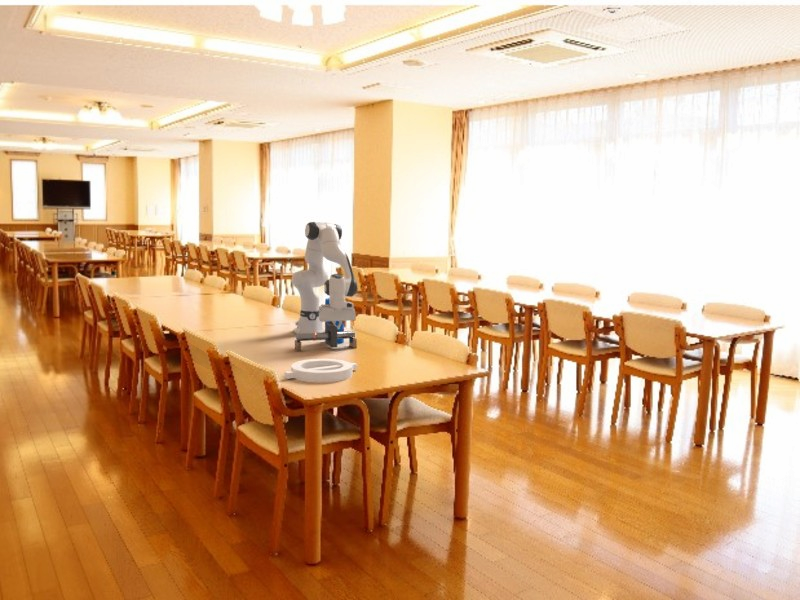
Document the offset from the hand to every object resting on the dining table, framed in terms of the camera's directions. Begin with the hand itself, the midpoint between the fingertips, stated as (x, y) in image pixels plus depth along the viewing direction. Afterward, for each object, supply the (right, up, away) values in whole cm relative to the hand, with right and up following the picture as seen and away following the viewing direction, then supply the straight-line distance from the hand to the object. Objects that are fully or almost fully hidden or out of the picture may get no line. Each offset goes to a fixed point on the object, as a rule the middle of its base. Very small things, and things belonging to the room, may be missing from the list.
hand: (337, 328), depth 366 cm
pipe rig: (-6, -11, -1) cm, 12 cm away
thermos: (-3, -9, +17) cm, 20 cm away
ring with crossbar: (-1, -19, -60) cm, 63 cm away
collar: (-3, -9, 0) cm, 10 cm away
